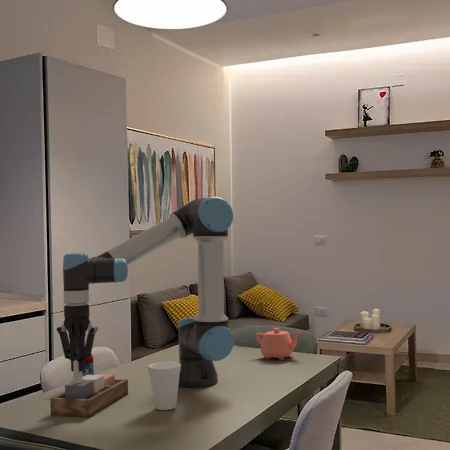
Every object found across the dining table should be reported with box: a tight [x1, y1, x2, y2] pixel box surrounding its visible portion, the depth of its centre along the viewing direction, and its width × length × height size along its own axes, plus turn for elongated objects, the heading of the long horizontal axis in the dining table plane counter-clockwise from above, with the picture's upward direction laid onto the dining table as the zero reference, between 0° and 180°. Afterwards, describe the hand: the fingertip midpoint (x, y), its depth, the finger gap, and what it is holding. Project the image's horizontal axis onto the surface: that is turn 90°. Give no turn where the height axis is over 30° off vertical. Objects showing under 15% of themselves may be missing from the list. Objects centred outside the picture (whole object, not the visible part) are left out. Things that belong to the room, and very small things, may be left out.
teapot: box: [255, 327, 302, 361], centre depth 255 cm, size 13×20×12 cm, turn 65°
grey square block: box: [64, 380, 93, 399], centre depth 186 cm, size 6×6×4 cm
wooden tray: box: [49, 378, 129, 419], centre depth 193 cm, size 13×26×5 cm, turn 164°
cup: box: [147, 361, 181, 411], centre depth 187 cm, size 10×10×13 cm
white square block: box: [83, 374, 104, 392], centre depth 193 cm, size 6×6×4 cm
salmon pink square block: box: [96, 373, 116, 386], centre depth 201 cm, size 6×6×4 cm
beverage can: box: [82, 353, 95, 376], centre depth 215 cm, size 7×7×12 cm
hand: (78, 382), depth 186 cm, fingers closed
